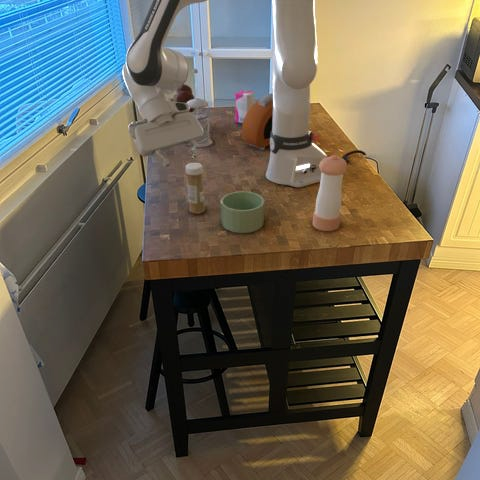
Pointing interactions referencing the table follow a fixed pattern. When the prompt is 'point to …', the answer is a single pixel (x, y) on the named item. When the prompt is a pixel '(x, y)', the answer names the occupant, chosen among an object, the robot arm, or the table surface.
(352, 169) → the table surface
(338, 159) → the salt shaker
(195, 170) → the sprinkles bottle
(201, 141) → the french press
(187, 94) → the brown teddy bear
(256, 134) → the alarm clock
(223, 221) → the cup
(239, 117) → the supplement box
